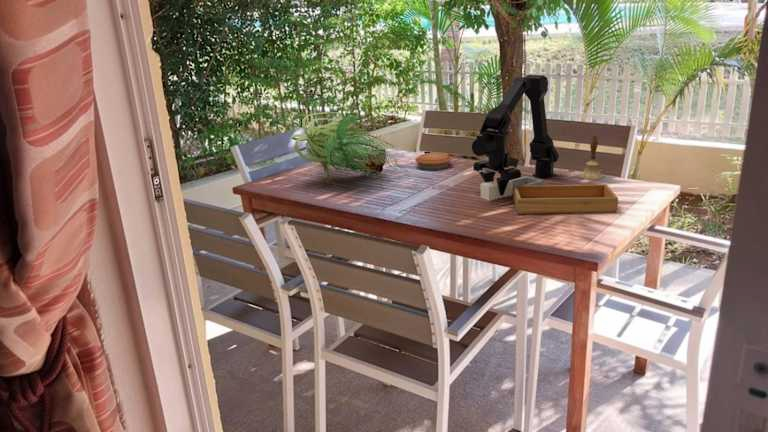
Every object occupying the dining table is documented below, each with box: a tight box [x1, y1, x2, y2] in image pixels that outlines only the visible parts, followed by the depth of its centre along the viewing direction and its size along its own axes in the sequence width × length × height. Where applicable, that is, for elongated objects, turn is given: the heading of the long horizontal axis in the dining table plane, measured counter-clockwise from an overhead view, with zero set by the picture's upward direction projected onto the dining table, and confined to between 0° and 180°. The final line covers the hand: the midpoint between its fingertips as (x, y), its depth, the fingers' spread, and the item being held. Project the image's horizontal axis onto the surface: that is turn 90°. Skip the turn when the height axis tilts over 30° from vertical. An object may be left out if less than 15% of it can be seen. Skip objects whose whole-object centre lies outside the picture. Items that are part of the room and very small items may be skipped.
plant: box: [291, 109, 415, 187], centre depth 237 cm, size 35×35×40 cm
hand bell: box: [579, 134, 604, 181], centre depth 225 cm, size 8×8×16 cm
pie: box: [414, 152, 453, 171], centre depth 254 cm, size 15×16×5 cm
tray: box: [512, 183, 619, 215], centre depth 197 cm, size 31×15×6 cm, turn 84°
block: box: [480, 179, 513, 202], centre depth 211 cm, size 10×5×5 cm, turn 116°
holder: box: [510, 175, 544, 187], centre depth 217 cm, size 13×9×3 cm, turn 121°
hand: (496, 193), depth 211 cm, fingers closed on block, 5 cm apart
